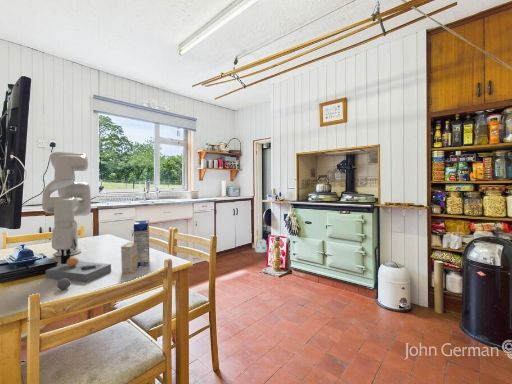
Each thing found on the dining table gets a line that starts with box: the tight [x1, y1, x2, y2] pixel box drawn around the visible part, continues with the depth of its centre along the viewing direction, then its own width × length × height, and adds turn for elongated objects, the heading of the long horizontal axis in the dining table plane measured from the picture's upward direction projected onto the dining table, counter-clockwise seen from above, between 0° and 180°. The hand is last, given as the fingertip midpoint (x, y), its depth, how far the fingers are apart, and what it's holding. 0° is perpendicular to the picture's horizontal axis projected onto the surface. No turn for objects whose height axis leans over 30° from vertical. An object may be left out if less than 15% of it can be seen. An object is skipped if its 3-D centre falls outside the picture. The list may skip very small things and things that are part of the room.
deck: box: [45, 260, 112, 283], centre depth 123 cm, size 22×14×4 cm, turn 78°
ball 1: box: [56, 278, 72, 290], centre depth 107 cm, size 4×4×4 cm
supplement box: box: [120, 241, 139, 274], centre depth 129 cm, size 8×5×13 cm, turn 5°
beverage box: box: [133, 220, 150, 268], centre depth 139 cm, size 7×11×22 cm, turn 21°
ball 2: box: [67, 256, 79, 267], centre depth 124 cm, size 4×4×4 cm
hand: (65, 263), depth 125 cm, fingers closed
